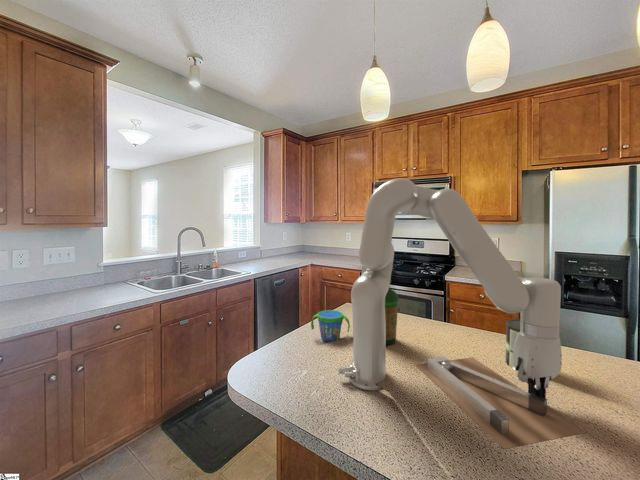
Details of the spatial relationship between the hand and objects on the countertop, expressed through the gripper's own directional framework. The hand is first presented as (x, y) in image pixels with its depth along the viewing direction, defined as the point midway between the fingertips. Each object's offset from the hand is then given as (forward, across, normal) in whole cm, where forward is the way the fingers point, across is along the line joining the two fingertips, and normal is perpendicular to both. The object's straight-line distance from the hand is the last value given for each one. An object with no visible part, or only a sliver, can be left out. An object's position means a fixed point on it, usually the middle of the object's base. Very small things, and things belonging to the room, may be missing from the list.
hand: (536, 401), depth 70 cm
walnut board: (+2, +9, -7) cm, 11 cm away
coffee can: (+2, -15, -17) cm, 23 cm away
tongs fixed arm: (+1, +14, -7) cm, 15 cm away
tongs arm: (0, +8, -7) cm, 11 cm away
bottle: (+2, +21, -43) cm, 48 cm away
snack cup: (+2, +40, -53) cm, 66 cm away
